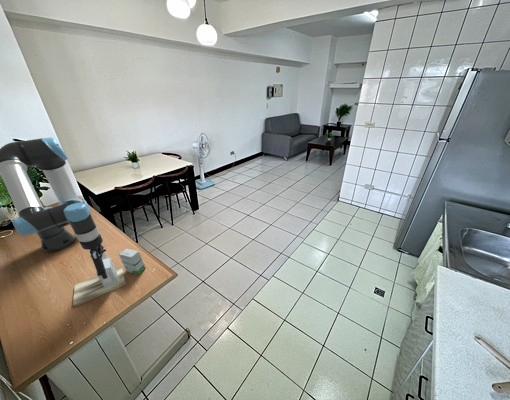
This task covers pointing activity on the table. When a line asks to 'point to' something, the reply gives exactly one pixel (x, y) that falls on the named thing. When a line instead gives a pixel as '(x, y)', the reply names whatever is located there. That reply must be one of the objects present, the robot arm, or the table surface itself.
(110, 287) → the board
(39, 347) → the table surface
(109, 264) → the small box
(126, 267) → the ink box
